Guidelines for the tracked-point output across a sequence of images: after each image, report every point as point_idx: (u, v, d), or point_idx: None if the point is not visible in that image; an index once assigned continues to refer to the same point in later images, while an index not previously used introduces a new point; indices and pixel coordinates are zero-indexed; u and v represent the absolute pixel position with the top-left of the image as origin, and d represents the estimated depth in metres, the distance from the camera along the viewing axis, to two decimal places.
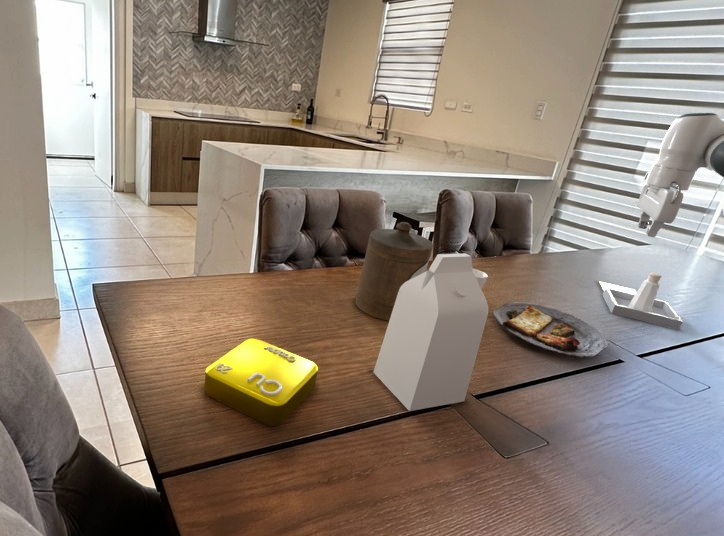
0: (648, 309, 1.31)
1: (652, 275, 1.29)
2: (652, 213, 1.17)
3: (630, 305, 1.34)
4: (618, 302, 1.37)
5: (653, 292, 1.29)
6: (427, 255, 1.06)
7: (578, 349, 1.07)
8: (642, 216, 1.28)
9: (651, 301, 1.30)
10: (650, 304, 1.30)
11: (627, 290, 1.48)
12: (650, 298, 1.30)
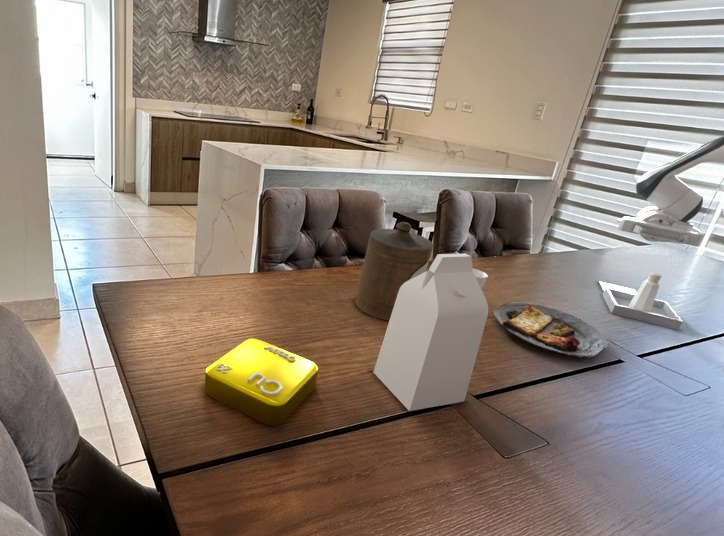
0: (648, 309, 1.31)
1: (652, 275, 1.29)
2: None
3: (630, 305, 1.34)
4: (618, 302, 1.37)
5: (653, 292, 1.29)
6: (427, 255, 1.06)
7: (578, 349, 1.07)
8: None
9: (651, 301, 1.30)
10: (650, 304, 1.30)
11: (627, 290, 1.48)
12: (650, 298, 1.30)
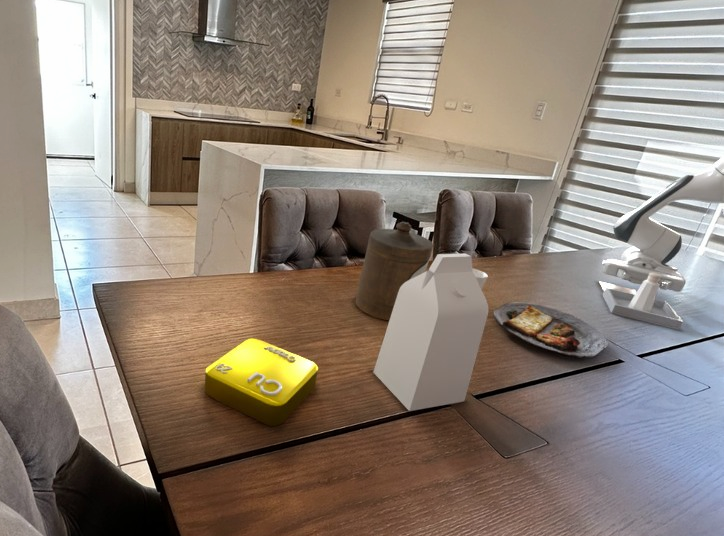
0: (648, 309, 1.31)
1: (652, 275, 1.29)
2: None
3: (630, 305, 1.34)
4: (618, 302, 1.37)
5: (653, 292, 1.29)
6: (427, 255, 1.06)
7: (578, 349, 1.07)
8: None
9: (651, 301, 1.30)
10: (650, 304, 1.30)
11: (627, 290, 1.48)
12: (650, 298, 1.30)
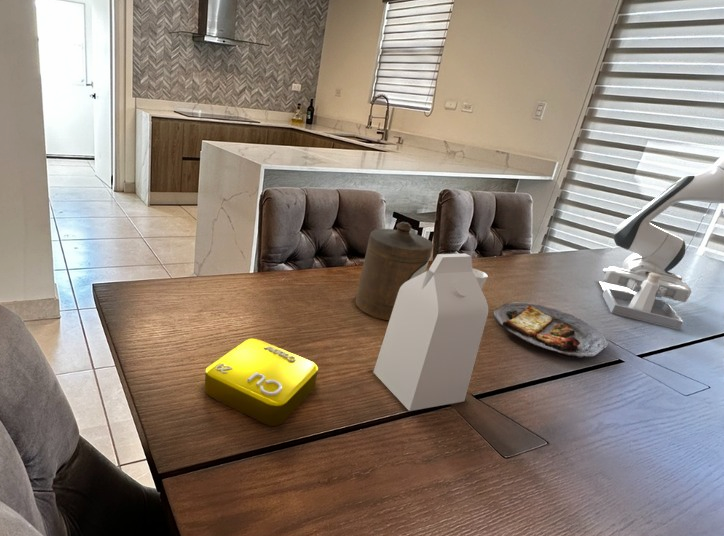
0: (648, 309, 1.31)
1: (652, 275, 1.29)
2: None
3: (630, 305, 1.34)
4: (618, 302, 1.37)
5: (653, 292, 1.29)
6: (427, 255, 1.06)
7: (578, 349, 1.07)
8: None
9: (651, 301, 1.30)
10: (650, 304, 1.30)
11: (627, 290, 1.48)
12: (650, 298, 1.30)
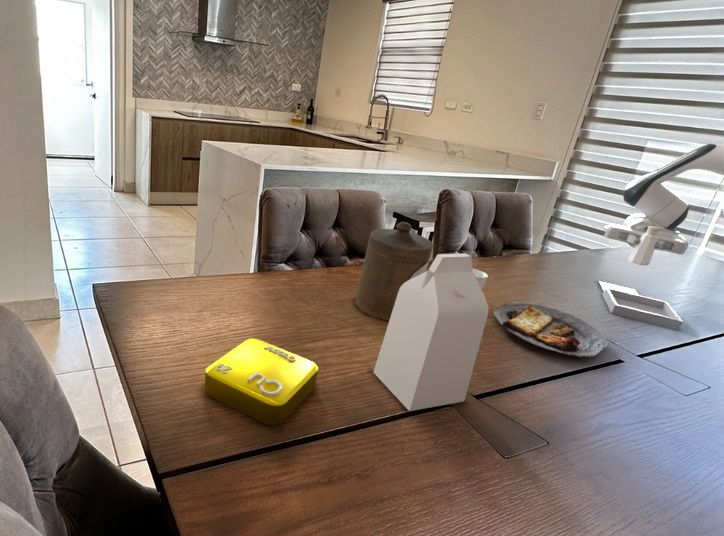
0: (647, 261, 1.37)
1: (651, 228, 1.35)
2: None
3: (630, 258, 1.40)
4: (618, 302, 1.37)
5: (652, 244, 1.35)
6: (427, 255, 1.06)
7: (578, 349, 1.07)
8: None
9: (650, 253, 1.36)
10: (649, 256, 1.36)
11: (627, 290, 1.48)
12: (649, 250, 1.36)
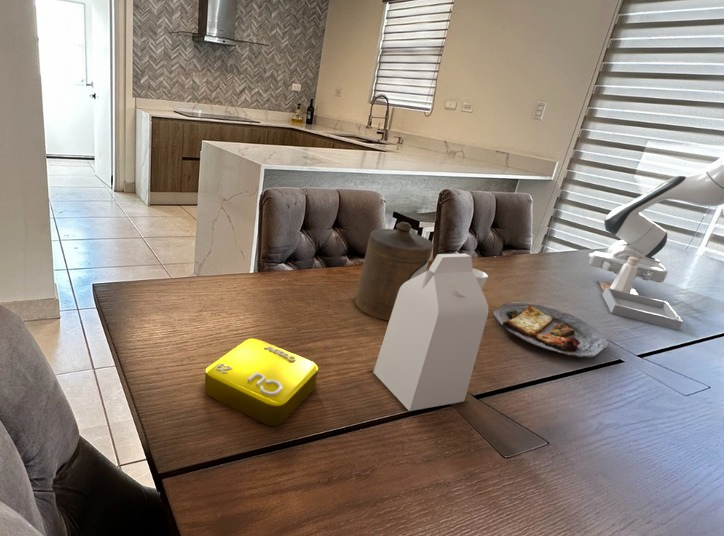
0: (628, 290, 1.44)
1: (631, 259, 1.42)
2: None
3: (612, 286, 1.47)
4: (618, 302, 1.37)
5: (632, 274, 1.43)
6: (427, 255, 1.06)
7: (578, 349, 1.07)
8: None
9: (630, 282, 1.44)
10: (629, 285, 1.44)
11: None
12: (630, 279, 1.43)
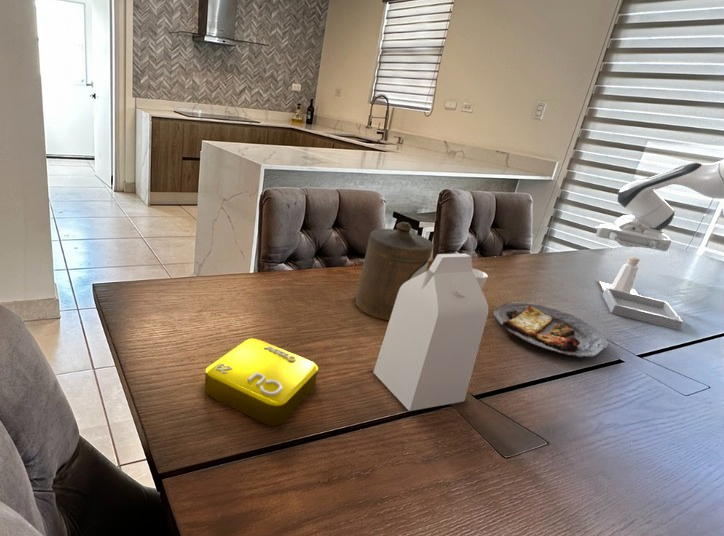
0: (628, 290, 1.44)
1: (631, 259, 1.42)
2: None
3: (612, 286, 1.47)
4: (618, 302, 1.37)
5: (632, 274, 1.43)
6: (427, 255, 1.06)
7: (578, 349, 1.07)
8: None
9: (630, 282, 1.44)
10: (629, 285, 1.44)
11: None
12: (630, 279, 1.43)
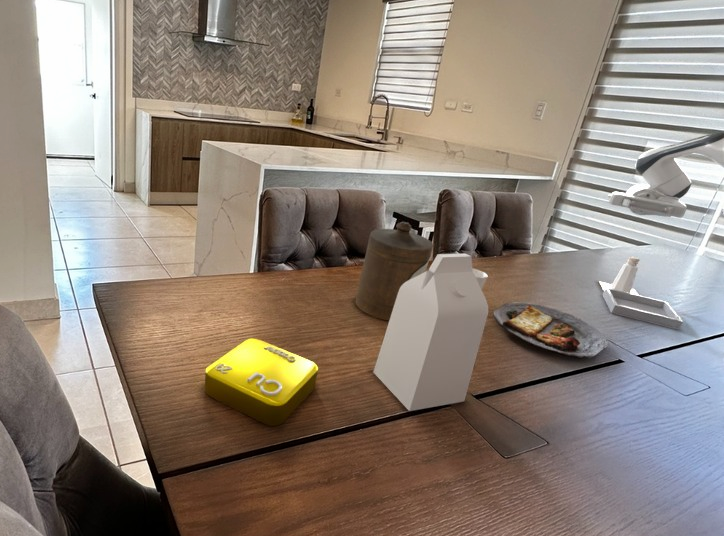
0: (628, 290, 1.44)
1: (631, 259, 1.42)
2: (623, 206, 1.55)
3: (612, 286, 1.47)
4: (618, 302, 1.37)
5: (632, 274, 1.43)
6: (427, 255, 1.06)
7: (578, 349, 1.07)
8: None
9: (630, 282, 1.44)
10: (629, 285, 1.44)
11: None
12: (630, 279, 1.43)
